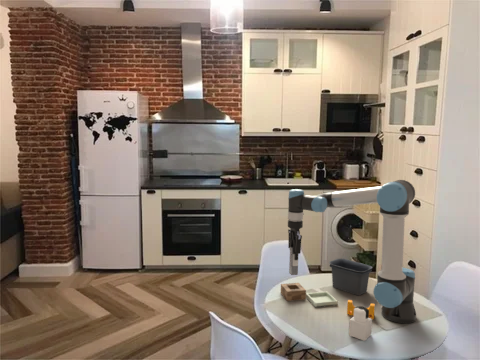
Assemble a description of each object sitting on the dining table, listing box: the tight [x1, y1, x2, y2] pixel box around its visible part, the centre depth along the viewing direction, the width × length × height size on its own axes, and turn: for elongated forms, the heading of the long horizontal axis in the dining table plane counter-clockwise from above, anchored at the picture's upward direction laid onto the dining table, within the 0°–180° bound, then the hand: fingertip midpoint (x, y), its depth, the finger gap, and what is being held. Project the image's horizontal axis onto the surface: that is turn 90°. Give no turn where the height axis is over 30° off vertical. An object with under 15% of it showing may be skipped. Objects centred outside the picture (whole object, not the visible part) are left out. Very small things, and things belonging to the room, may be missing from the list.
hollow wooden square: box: [280, 282, 307, 302], centre depth 205 cm, size 10×10×5 cm
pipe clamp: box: [346, 299, 376, 320], centre depth 185 cm, size 12×4×6 cm, turn 69°
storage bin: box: [328, 257, 373, 296], centre depth 215 cm, size 21×16×14 cm
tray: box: [306, 290, 339, 308], centre depth 200 cm, size 12×12×2 cm
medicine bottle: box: [348, 305, 373, 342], centre depth 166 cm, size 7×7×12 cm
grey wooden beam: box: [288, 247, 299, 276], centre depth 203 cm, size 3×3×14 cm
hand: (293, 264), depth 203 cm, fingers closed on grey wooden beam, 3 cm apart
